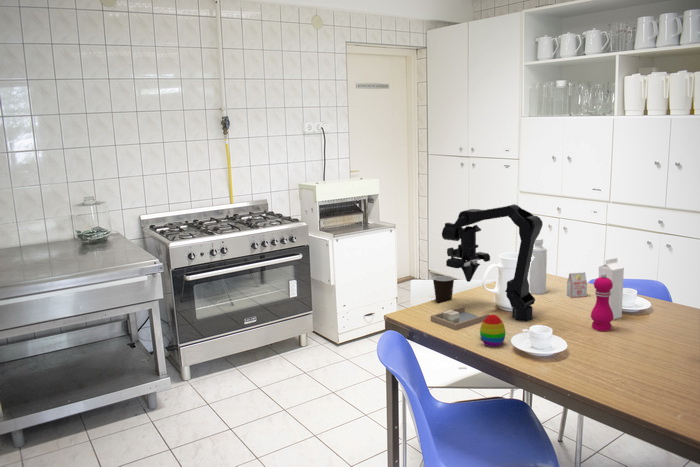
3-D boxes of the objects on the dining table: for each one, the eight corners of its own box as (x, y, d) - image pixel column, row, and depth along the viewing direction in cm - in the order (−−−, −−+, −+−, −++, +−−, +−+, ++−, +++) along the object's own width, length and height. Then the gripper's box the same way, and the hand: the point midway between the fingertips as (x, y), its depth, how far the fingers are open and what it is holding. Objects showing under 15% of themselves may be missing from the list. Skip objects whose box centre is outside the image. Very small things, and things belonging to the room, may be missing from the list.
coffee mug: (448, 305, 233) (447, 282, 231) (429, 302, 238) (429, 279, 237) (461, 298, 242) (460, 275, 240) (442, 295, 247) (442, 273, 246)
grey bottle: (548, 291, 246) (549, 234, 242) (541, 295, 242) (542, 237, 237) (533, 289, 251) (534, 233, 246) (526, 292, 246) (527, 235, 242)
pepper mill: (613, 326, 203) (615, 271, 199) (612, 332, 196) (615, 276, 193) (590, 323, 206) (592, 269, 202) (589, 330, 199) (591, 274, 196)
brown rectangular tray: (489, 323, 211) (489, 314, 210) (456, 334, 201) (455, 324, 201) (463, 314, 221) (463, 306, 221) (430, 324, 212) (430, 315, 211)
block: (459, 323, 208) (459, 312, 207) (451, 325, 206) (451, 314, 205) (451, 320, 211) (451, 309, 210) (443, 322, 209) (443, 312, 208)
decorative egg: (510, 342, 191) (510, 314, 190) (496, 350, 186) (496, 320, 184) (488, 337, 197) (488, 309, 195) (475, 344, 192) (475, 315, 190)
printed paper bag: (566, 295, 240) (567, 272, 238) (582, 294, 241) (582, 271, 239) (571, 298, 237) (571, 274, 235) (586, 296, 237) (587, 273, 236)
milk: (596, 316, 214) (598, 258, 210) (608, 313, 216) (610, 256, 212) (610, 320, 208) (612, 261, 204) (622, 317, 211) (624, 259, 207)
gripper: (469, 236, 232) (470, 273, 235) (435, 242, 222) (436, 281, 225) (491, 239, 223) (491, 278, 226) (456, 247, 213) (457, 287, 216)
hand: (468, 281), depth 223 cm, fingers closed
